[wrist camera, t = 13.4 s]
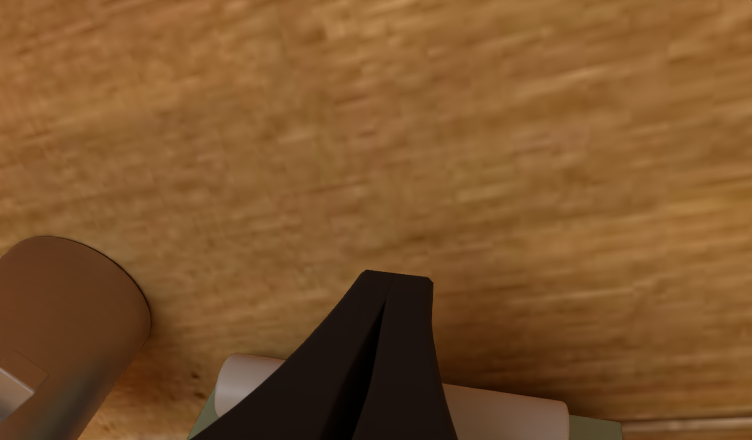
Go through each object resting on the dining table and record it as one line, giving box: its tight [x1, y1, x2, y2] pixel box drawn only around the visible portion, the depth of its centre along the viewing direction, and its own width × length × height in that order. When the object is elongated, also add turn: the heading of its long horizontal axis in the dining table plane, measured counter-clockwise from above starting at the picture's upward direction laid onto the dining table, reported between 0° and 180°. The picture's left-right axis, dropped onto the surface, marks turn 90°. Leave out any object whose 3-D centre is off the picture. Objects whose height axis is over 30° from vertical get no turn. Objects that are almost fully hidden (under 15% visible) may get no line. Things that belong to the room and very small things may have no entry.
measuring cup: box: [0, 237, 151, 440], centre depth 18 cm, size 7×5×6 cm
